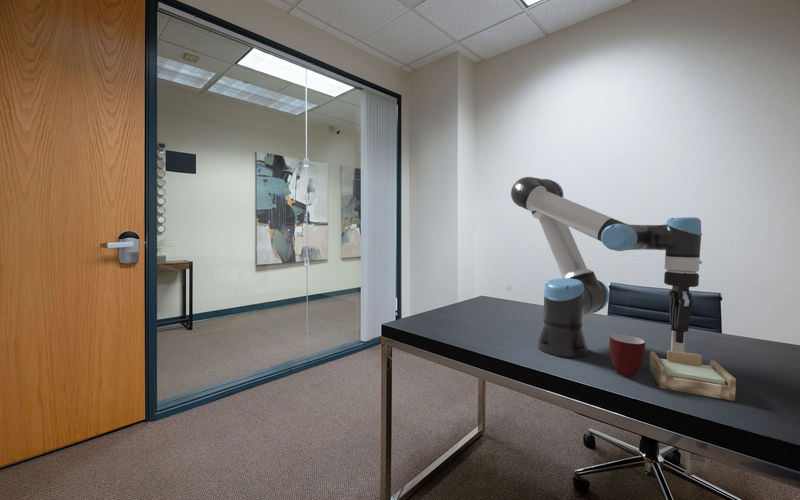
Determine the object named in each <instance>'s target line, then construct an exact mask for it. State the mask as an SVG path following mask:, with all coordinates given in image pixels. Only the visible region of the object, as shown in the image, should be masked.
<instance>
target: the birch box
mask: <svg viewBox="0 0 800 500" xmlns="http://www.w3.org/2000/svg"><path fill="white" fill-rule="evenodd" d="M659 358H660V357H659V356H658V355H657V353H656V352H655V351H650V352H649V365H648V367H649V369H648V370H649V371H650V373H651V374H652V376H653V377H654V380H655V381H656V383H657V384H658V386H659V388H660V389H665V390H670V391H677V392H683V393H688V394H694V395H699V396H703V397H704V396H705V397H711V398H715V399H722V400H727V401H732V402H734V401H736V387H737V379H736V378H735V377H734V376H733V375H732V374H730V373H729V372H728V371H727V370H726V369H725V368H724V367H723V366H722V365H721V364H719V362H717V361H716V360H715V359H709V365H708V366H710V367H711V368H712V369H714V370H715V371H716V372H717V373H718V374H719V375H720V376H721V377H722V378H723V379H724V380H725V385H724V384H718V383H712V382H705V381H699V380H693V379H687V378H681V377H675V376H669V375H666V367H665V366H664V365H663V363H662V362H661V360H660V359H661V358H660V359H659Z"/></svg>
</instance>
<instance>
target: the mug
mask: <svg viewBox="0 0 800 500" xmlns="http://www.w3.org/2000/svg"><path fill="white" fill-rule="evenodd" d="M608 345H609V351H610V353H609V354H610V358H611V363H612V366H613V368H614V370H615V371H616V374H618V375H619V376H621V377H624V378H633V377H635V376H636V375H637V374H638V372H639V371H640V370H641V368H642V367H641V366H642V363H643V359H644V356H645V351H646V341H645V340H644V339H642V338H639V337H637V336H636V337H635V336H633V335H626V334H611V335H610V336H609V343H608Z"/></svg>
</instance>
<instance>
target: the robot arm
mask: <svg viewBox="0 0 800 500" xmlns="http://www.w3.org/2000/svg"><path fill="white" fill-rule="evenodd" d="M510 197H511V199H512V202H513V203H514V204H515V205H517V206H518V207H521V208H523V209H524V210H527V211H529V212H530V213H531V214H532V217H533V218H534V219H538V220H539V223H540V226H541V228H542V231H543V232H544V235H545V238H546V240H547V243H548V244H549V248H550V250H551V252H552V254H553V256H554V259H555V262H556V265H557V267H558V270H559V271H560V274H561V278H553V279H550V280H547V281H546V283H545V285H544V289H543V290H544V291H543V295H544V296H543V324H542V328H541V329H540V332H539V334H538V337H537V341H536V342H537V343H536V345H537V348H538V349H539V350H541V351H542V352H544V353H547V354H550V355H554V356H557V357H564V358H581V357H585V356H587V355H588V344H587V341H586V338H585V335H584V331H583V317H584V316H585V315H588V314H594V313H597V312H599V311H602V310H603V309H604V308H605V307H606V306H607V305H608V303H609V300H610V291H609V289H608V287H607V286H606V284H604V282H602V281H600V280H598V279H597V276H596V274H595V272H594V270H591V269H589V268H587V266H586V263H585V260H584V258H583V257H582V255H581V252H580V250H579V247H578V245H577V243H576V240H575V239H574V236H573V233H572V232H571V230H570V228H572V229H573V230H576V231H578V232H581V233H582V234H585V235H586V236H588V237H590V238H592V239H596V240H597V241H599V242H600V243H602V245H604V246H605V247H606V248H607V249H609V250H612V251H616V252H624V251H635V250H638V251H641V250H649V251H652V250H654V251H655V250H656V251H665V256H664V269H665V270H666V271H665V272H664V277H663V278H664V279H663V282H664V284H665V285H667V286H672V287H671V290H669V292H668V298H669V299H668V300H669V325H670V326H671V327H670V331H671V341H670V350H671V351H678V352H685V345H686V344H685V342H686V332H688V331H689V326H690V320H691V313H692V308H693V307H692V306H693V303H694V300H693V299H692V293H691V292H690V288H695V287H698V286H699V283H700V274H699V273H697V272H699V271H700V265H702V263H703V261H702V260H701V258H700V257H701V245H702V244H701V243H702V236H703V233H702V221H701V218H699V217H694V216H693V217H686V216H685V217H669V218H668V219H667V220H666V223H665V224H629V223H625V222H623V221H620V220H618V219H615V218H613V217H611V216H608V215H606V214H603V213H601V212H598V211H596V210H593V209H591V208H589V207H587V206H584V205H581V204H579V203H578V202H577V203H576V202H574V201H573V200H569V199H567V198H564V190H563V188H562V186H561V185H560V183H558V182H556V181H554V180H552V179H548V178H538V177H533V176H525V177H521V178H520V179H517V180H516V181H515V182H514V184H513V185H512V187H511V190H510Z"/></svg>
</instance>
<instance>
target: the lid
mask: <svg viewBox="0 0 800 500" xmlns="http://www.w3.org/2000/svg"><path fill="white" fill-rule="evenodd" d="M658 358H659V359H660V360H661V362H662V363H663V365H664V366H665V367H666V375H669V376H675V377H681V378H687V379H693V380H699V381H705V382H712V383H718V384H724V385H725V380H724V379H723V378H722V377H721V376H720V375H719V374H718V373H717V372H716V371H715V370H714V369H712V368H711V367H710V366H709V365H706V364H702V363H703V362H702V359H703V356H702V355H701V354H700V353H692V352H685V351H684V352H678V351H671V349H666V358H661V357H658Z"/></svg>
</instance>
